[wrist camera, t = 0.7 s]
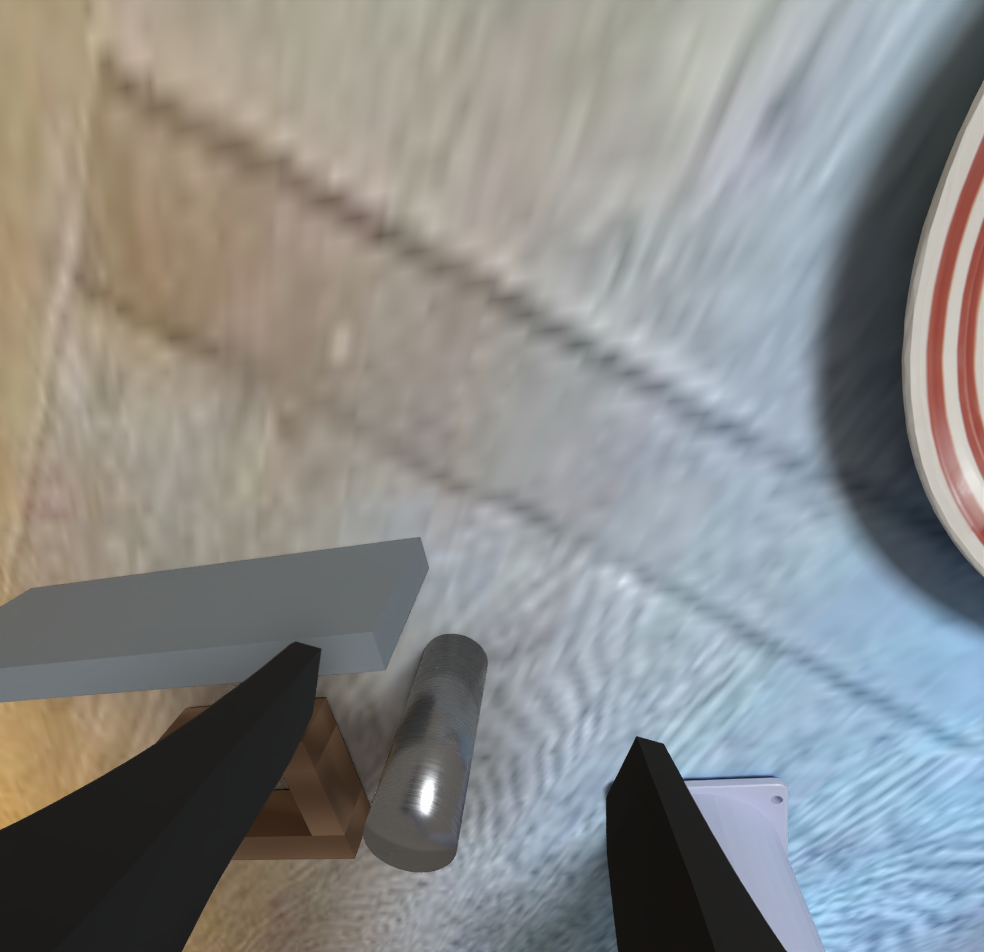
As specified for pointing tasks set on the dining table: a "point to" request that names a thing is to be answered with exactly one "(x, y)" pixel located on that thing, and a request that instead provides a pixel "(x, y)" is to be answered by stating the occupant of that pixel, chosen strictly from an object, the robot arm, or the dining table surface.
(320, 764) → the socket block
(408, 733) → the dowel
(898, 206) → the dining table surface
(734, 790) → the robot arm
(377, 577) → the slate wall
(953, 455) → the dinner plate
